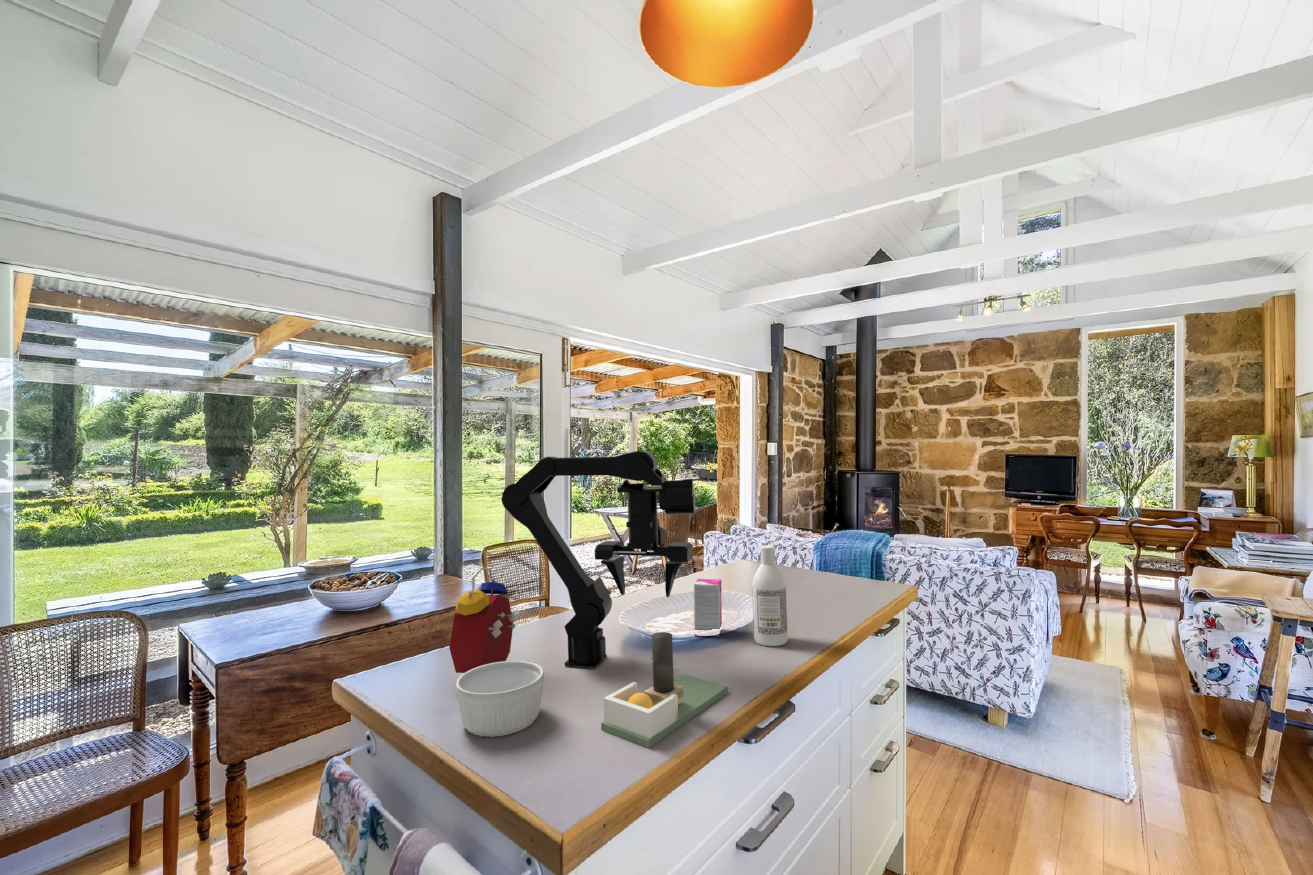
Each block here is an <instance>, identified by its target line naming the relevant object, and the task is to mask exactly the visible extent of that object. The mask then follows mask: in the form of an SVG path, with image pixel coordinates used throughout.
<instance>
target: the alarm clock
mask: <svg viewBox="0 0 1313 875" xmlns="http://www.w3.org/2000/svg"><path fill="white" fill-rule="evenodd" d="M481 571H488V573H489V574H488V575H489V581H487V582H486V581H485V582H481V584H479V585H478V588H477V589H475V581H476V580H475V578H476V577H477V576H478V575H479V574H480V573H481ZM471 580H472V581H471V583H472V584H471V585H472V586H471V589H470V590H468V591H465V592H464V593H462V594H461V595H460V596H458V599H457V601H456V604H455V613H454V617H453V621H452V622H453V623H452V628H451V635H450V642H449V645H448V646H449V652H450V656H451V659H452V664H453V667H454V672H455V673H456V674H464V673H466V672H467V671H469V670H471V669H473V668H476V667H479V666H482V665H486V664H490V663H496V662H503V661H507V659H508V657H509V654H510V653H511V646H512V638H513V630H514V629H515V628H516V625H515V623H514V621H516V620H517V619H518V616H517V615H519V614H520V613H521V612H520V611H519V610H518V609H515V610H513V611H512V609H511V602H510V599H509V598H507V597H505V596H502V595H507V594H508V590H507V588H506V586H505V584H504V583H501V582H498V581H495V580H496V578H495V577H492V569H491V568H489V567H480V569H479V570H478V571H477V572H476V574H475V575H474V576H473V577H472V578H471Z"/></svg>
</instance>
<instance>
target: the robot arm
mask: <svg viewBox="0 0 1313 875" xmlns="http://www.w3.org/2000/svg"><path fill="white" fill-rule="evenodd" d="M557 476H558V477H559V476H560V477H561V476H563V477H564V476H567V477H568V476H569V477H570V476H576V477H577V476H610V477H613V478H614V477H616V478H620V479H624V481H623V483H622V484H621V485H620V486H619V487H618V488H617V489H616V492H617V493H627V517H628V519H627V521H626V522H625V524H626V528H628V542H627V543H626V545H624V543H623V541H622V540H605V541H603V542H600V543H598V544H597V545H596V546H595V548H594V560H596V561H597V560H600V563H601V565H605V566H606V568H607V570H608V571H609V573H610V574H611V577H612V578H613V581H614V582H615V584H616V586H617V588H618V591H619V592H620V595H621V596H624V595H625V594H626V579H625V569H624V565H625V564H624V563H625V557H626V556H635V557H637V556H642V557H643V556H644V557H666V558H667V560H668V561H667V562H665V565H664V566H665V567H664V568H665V573H664V574H665V579H664V580H665V584H664V585H665V587H664V588H665V591H664V592H665V596H666V598H669V597H670V596H671V592H672V588H673V586H674V583H675V579H676V576H677V574H678V571H679V568H680V567H682V565H684V564H685V563H686V562H689V561H690V560H691V559H692V558H694V556H695V555H694V551H695V550H694V545H693V544H692V543H691V542H690V541H689V542H688V541H687V542H684V541H683V542H681V541H680V542H679V541H678V542H677V541H676V542H675V541H673V542H672V543H670V544H669V545H667V546H666V540H667V538H666V537H667V530H666V529H665V528H664V527H661V524H660V518H658V506H659V510H662V511H663V512H664V513H665V515H667V516H668V515H695V514H696V494H695V490H694V479H693V478H685V479H678V480H677V479H675V480H674V479H672V480H671V479H670V480H668V479H667V478H666V476H665V474H663V473H662V472H661V470H660V469H659V468H658V461H657V459H656V457H655V455H654V454H652V453H651V452H650V451H647V450H636V451H631V452H626V453H622V454H616V455H610V456H586V457H585V456H584V457H583V456H582V457H581V456H580V457H578V456H575V457H571V456H569V457H557V456H553V455H552V456H544V457H542V458H540V459H539V461H538V462H536V464H535V465H534V466H533V467H532V468H531V469H529V471H527V472H526V473H524V474H523V475H522V476H521V477H520V478H519V479H518V480H517V481H516V482H515V483H511V484H509V485H507V486H506V487H505V489H504V490H503V492H502V496H501V499H500V500H501V504H502V505H503V507H504V509H505V510H506V511H507V512H508V513H509V514H510V515H511V516H512V517H513V518H514V519H515V520H516V521H517V522H519V523H520V524H521V525H523V526H524V527H525V528H527V529H528V531H529V532H530V534H531V535H532V537H533V538H534V539H535V541H536V543H537V544H538V546H539V547H540V549H541V550H542V552H543V554H544V555H545V556H546V558H547V560H548V561H549V562H550V564H551V566H552V567H553V568H554V570H555V572H556V573H557V574H558V577H560V579H561V580H562V582H563V584H564V586H565V587H566V589H567V592H568V596H569V601H570V605H571V607H572V610H573V612H574V615H573V617H572V618H571V619H570V620H569V621H568V622H567V623H566V624H565V625H564V630H565V632H566V635H567V658H568V659H567V660H566V661H564V666H565V667H573V668H574V667H575V668H584V669H585V668H586V669H596V668H597V667H598V666H599V665H600V664H601V663H602V662H603V661H605V659H607V657H608V654H607V652H606V651H607V650H606V649H607V648H606V646H607V645H606V636H605V635H604V628H603V627H599V626H600V625H601V624H602V623H603V622H604V620H605V619H606V618H607V616H608V615H609V613H610V611H612V606H613V601H612V597H611V594H612V591H611V590H609V589H608V588H607V587H606V586H605V583H604V580H603V579H602V577H601V576H598V577H597V578H596V579H595V580H594V579H593V578H592V577H591V576H589V575H588V574H587V573H586V571H585V570H584V569H583V567H582V565H581V564H580V562H579V561H578V560H577V558H576V557H575V555H574V553H573V552H572V551H571V549H570V548H569V545H568V544H567V543H566V541H565V540H564V538H563V537H562V535H561V534H560V532H559V531H558V529H557V528H556V526H555V524H554V523H553V522H552V520H551V519H550V517H549V514H548V511H547V506H546V503H545V502H546V501H545V499H544V498H543V495H542V494H543V492H545V490H547V489H548V487H549V485H550V484H551V483H552V482H553V480H554V479H555V478H556V477H557ZM631 481H636V482H637V483H632V482H631ZM642 481H643V483H642ZM638 482H641V483H638ZM644 482H645V483H644ZM646 484H648V485H650V486H652V487H653V488H652V487H647V485H646ZM657 493H658V494H657ZM658 503H659V505H658Z"/></svg>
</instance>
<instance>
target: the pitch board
mask: <svg viewBox="0 0 1313 875" xmlns="http://www.w3.org/2000/svg"><path fill="white" fill-rule="evenodd" d="M674 684H678V685H681V686H683V693H684V702H682V703H681V704H679V705H678V720H677V721H675V722H673V723H672V724H671V725H669V726H668V727H666V728H665V729H663V730H662V731H660V732H659V733H657V734H656V735H654V736H653V737H651V738H650V739H649V738H646V737H643V736H641V735H638V734H636V733H633V732H630V731H628V730H625V729H622V728H620V727H617V726H614V725H612V724H609V723H606V722H604V720H603V721H601V723H600V728H601V730H602V731H603V732H607V733H608V734H611V735H614V736H616V737H619V738H622V739H625V740H627V741H629V742H632V743H635V744H637V745H639V746H642V747H645V748H648V749H649V748H651V747H652V746H653V745H655V744H657V742H658V743H659V741H660V740H662V739H664V738H665V737H666V736H668V735H669V734H671V733H672V732H673V731H675V730H676V729H678V728H679V727H682V725H684V724H685V723H687V722H688V721H690V719H692V718H694V717H695V716H697V715H699V713H701V712H702V711H704V710H705V709H706V708H708V707H709V706H711V705H712V704H714V703H716V701H718V700H719V699H721V698H722V697H724V696H725V695H726V694H728V693H729V685H726V684H722V683H718V682H716V681H715V682H714V681H712V680H708V679H703V678H700V677H696V676H693V675H689V674H686V673H685V674H682V675H681V676H679V677H677V678H675V679H674ZM670 732H671V733H670ZM663 737H664V738H663Z"/></svg>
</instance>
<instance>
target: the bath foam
mask: <svg viewBox="0 0 1313 875" xmlns="http://www.w3.org/2000/svg"><path fill="white" fill-rule="evenodd" d="M775 552H776V549H775V546H773V545H762V546H761V545H760V565H759V567H758V568H757V570H756V571H755V574H754V576H753V580H752V587H751V588H752V589H751V590H752V612H753V613H752V616H753V638H754V639H753V640H754V641H755V643H756V644H758V645H761V646H764V647H780V646H785V644H787V643H788V639H789V638H788V636H789V635H788V613H787V612H788V610H787V589H786V581H785V577H784V575H783V573H782V572H781V569H780V568H779V567H778V565H777V564H776V553H775Z"/></svg>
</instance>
